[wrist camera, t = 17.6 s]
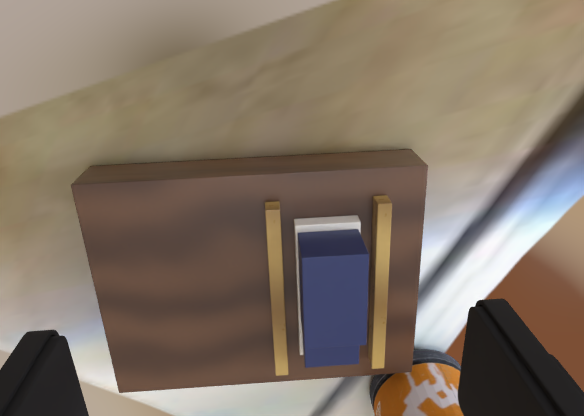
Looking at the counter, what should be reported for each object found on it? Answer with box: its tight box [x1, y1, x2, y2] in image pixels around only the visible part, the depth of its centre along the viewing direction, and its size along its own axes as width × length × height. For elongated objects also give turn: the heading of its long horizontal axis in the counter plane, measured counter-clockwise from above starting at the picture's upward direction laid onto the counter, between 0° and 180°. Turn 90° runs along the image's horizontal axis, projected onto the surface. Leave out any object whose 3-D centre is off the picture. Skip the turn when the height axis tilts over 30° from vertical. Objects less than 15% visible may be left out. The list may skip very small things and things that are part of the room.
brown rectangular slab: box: [71, 149, 428, 393], centre depth 37 cm, size 18×24×6 cm
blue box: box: [294, 215, 369, 368], centre depth 34 cm, size 11×4×5 cm, turn 2°
